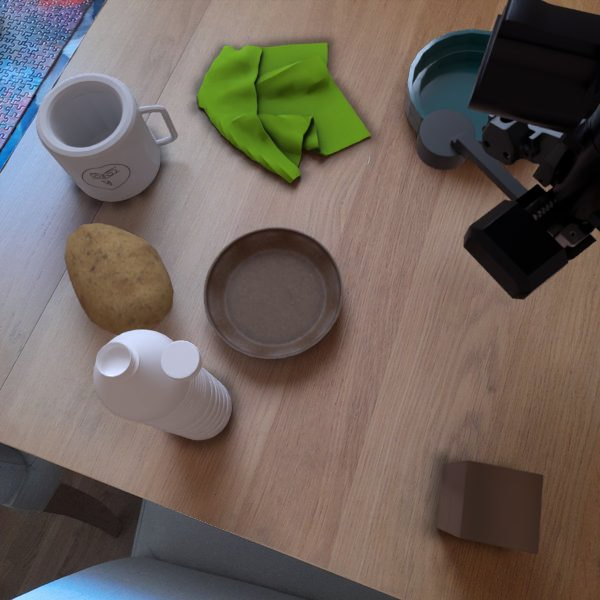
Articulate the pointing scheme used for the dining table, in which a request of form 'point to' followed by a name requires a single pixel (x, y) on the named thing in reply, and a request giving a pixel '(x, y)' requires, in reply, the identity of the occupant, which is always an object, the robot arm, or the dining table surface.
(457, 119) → the ladle
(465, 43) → the bowl
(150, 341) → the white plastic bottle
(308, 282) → the saucer
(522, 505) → the brown rectangular block
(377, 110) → the dining table surface
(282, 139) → the cloth
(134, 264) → the potato
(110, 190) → the mug
